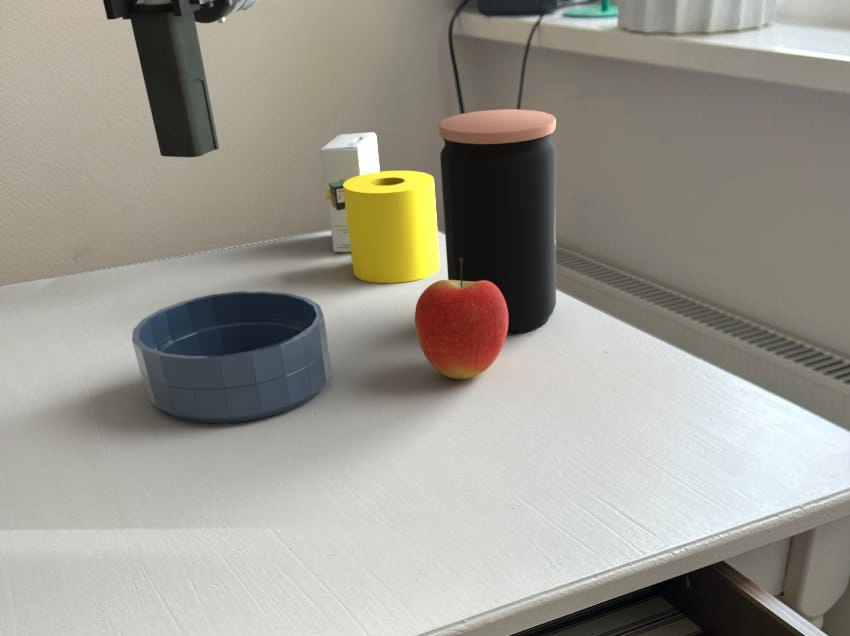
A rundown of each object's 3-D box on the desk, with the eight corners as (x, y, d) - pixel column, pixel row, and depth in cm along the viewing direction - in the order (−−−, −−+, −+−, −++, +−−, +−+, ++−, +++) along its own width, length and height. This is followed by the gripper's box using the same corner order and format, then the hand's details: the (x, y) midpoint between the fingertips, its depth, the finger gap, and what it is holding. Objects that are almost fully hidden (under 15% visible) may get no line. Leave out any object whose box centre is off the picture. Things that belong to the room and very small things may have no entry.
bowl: (124, 429, 82) (104, 360, 79) (181, 355, 95) (166, 293, 91) (313, 425, 81) (301, 356, 77) (345, 351, 94) (336, 288, 90)
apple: (406, 388, 86) (395, 273, 80) (437, 353, 92) (429, 244, 86) (493, 396, 84) (488, 278, 78) (519, 360, 90) (517, 248, 84)
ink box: (349, 232, 126) (337, 131, 119) (387, 232, 125) (377, 131, 118) (332, 253, 119) (318, 147, 112) (371, 253, 119) (359, 146, 112)
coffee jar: (577, 319, 98) (580, 119, 87) (490, 346, 93) (481, 138, 82) (515, 293, 105) (510, 104, 94) (430, 316, 100) (415, 121, 89)
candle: (196, 157, 102) (134, -150, 87) (156, 156, 103) (87, -147, 88) (223, 147, 106) (167, -150, 90) (183, 145, 107) (122, -147, 92)
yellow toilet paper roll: (445, 255, 117) (440, 169, 111) (432, 282, 109) (426, 192, 103) (363, 256, 118) (354, 171, 112) (345, 283, 110) (333, 193, 104)
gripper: (294, 16, 112) (246, 42, 94) (134, 23, 113) (56, 51, 95) (283, -65, 107) (230, -53, 89) (117, -56, 108) (31, -43, 90)
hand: (141, 0), depth 92 cm, fingers closed on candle, 6 cm apart
